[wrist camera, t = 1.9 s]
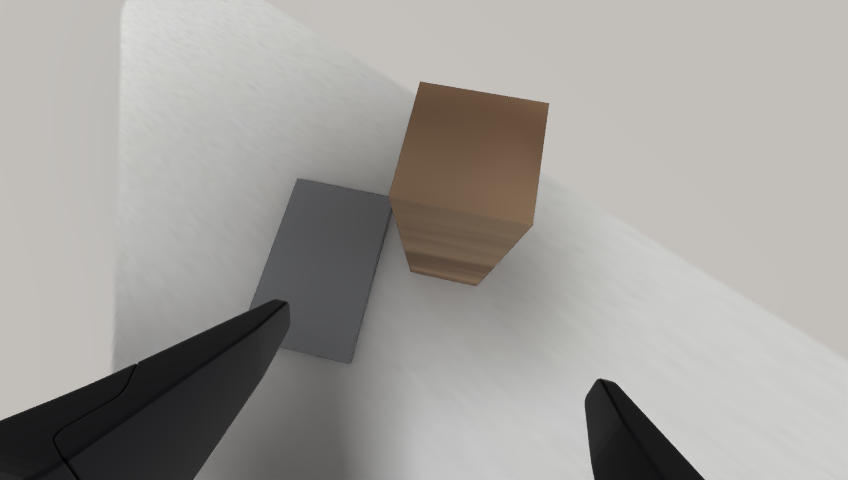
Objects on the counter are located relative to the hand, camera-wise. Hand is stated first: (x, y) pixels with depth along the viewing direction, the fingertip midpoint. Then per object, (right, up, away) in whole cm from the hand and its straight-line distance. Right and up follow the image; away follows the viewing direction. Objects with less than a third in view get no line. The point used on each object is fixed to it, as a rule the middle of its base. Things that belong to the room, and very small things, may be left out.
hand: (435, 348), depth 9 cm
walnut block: (+1, +3, +13) cm, 13 cm away
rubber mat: (-7, +1, +12) cm, 14 cm away
